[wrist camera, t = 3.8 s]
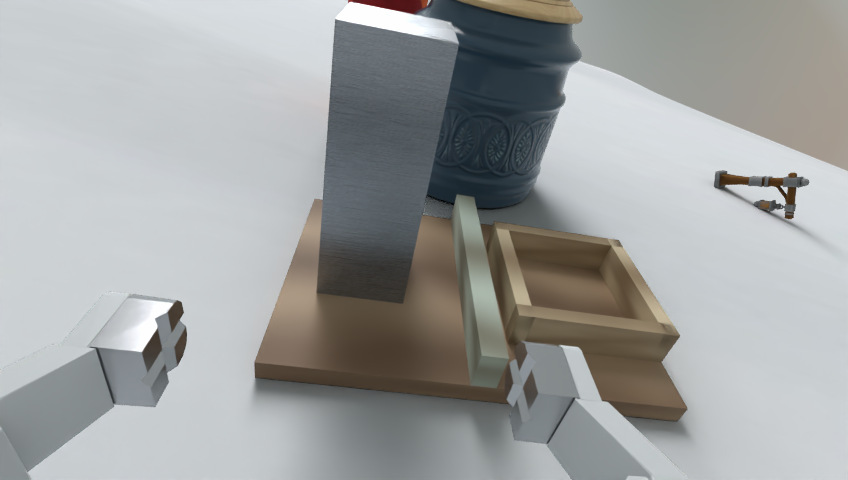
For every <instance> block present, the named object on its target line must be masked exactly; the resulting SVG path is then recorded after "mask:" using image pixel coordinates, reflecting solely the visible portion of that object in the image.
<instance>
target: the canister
mask: <svg viewBox="0 0 848 480" xmlns="http://www.w3.org/2000/svg"><path fill="white" fill-rule="evenodd" d="M413 15H418V16H423V17H428V18H433V19H438V20H443V21H448V22H451V23H452V26H453V29H454V31H455V34H456V37H457V39H458V42H459V46H458V51H457V55H456V60H455V65H454V69H453V74H452V79H451V83H450V88H449V93H448V97H447V102H446V107H445V111H444V116H443V121H442V125H441V130H440V135H439V139H438V144H437V148H436V153H435V158H434V162H433V167H432V172H431V176H430V181H429V186H428V190H427V194H428V195H430V196H432V197H435V198H437V199H440V200H443V201H447V202H450V203H454V204H455V200H456V196H457V195H464V196H470V197H474V199H475V204H476V207H477V208H499V207H506V206H510V205H514V204H516V203H519V202H521V201H522V200H523V199H525V198H526V197H527V195H528V193H529V191H530V189H531V188H532V187H533V186H534V184H535V183H536V180H537V176H538V175H539V173H540V168H541V167H540V164H541V160H542V158H543V155H544V152H545V149H546V147H547V144H548V141H549V138H550V135H551V133H552V130H553V127H554V124H555V122H556V119H557V116H558V113H559V110H560V108H561V107H562V106H563V105H564V103H565V99H566V98H565V94H564V92H563V88H564V84H565V80H566V77H567V74H568V70H569V68H570V67H571V66H572V65H574V64H576V63H577V62H578V61H579V60H580V59H581V57H582V53H581V51H580V49H579V48H578V46H577V45H576V44H575V43H574V41H573V39H572V24H578V23H580V22H581V21H582V18H583V17H582V15H581V14H580V13H579V11H578V10H577V9H576V8H575V7H574V6H573V4H572V3H571V1H570V0H431V1H430V3H429V5H428V6H426V7H424V8H422V9H420V10H418V11H416V12H415V13H414V14H413Z"/></svg>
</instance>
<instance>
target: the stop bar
mask: <svg viewBox="0 0 848 480" xmlns="http://www.w3.org/2000/svg"><path fill="white" fill-rule="evenodd" d="M458 46H459V42H458V39H457V37H456V34H455V31H454V29H453V26H452V23H451V22H448V21H443V20H438V19H433V18H428V17H423V16H418V15H413V14H409V13H404V12H399V11H394V10H389V9H384V8H379V7H374V6H369V5H364V4H359V3H354V2H349V4H348V5H347V6H346V7H345V8H344V9H343V11H342V12H341V13H340V14H339V15H338V16H337V18H336V19H335V30H334V44H333V59H332V73H331V88H330V102H329V117H328V131H327V146H326V160H325V175H324V189H323V204H322V219H321V233H320V248H319V262H318V277H317V291H316V293H321V294H328V295H336V296H344V297H352V298H360V299H368V300H376V301H384V302H392V303H399V304H403V302H404V297H405V293H406V288H407V283H408V279H409V274H410V269H411V265H412V260H413V255H414V251H415V246H416V241H417V237H418V232H419V228H420V223H421V218H422V214H423V209H424V204H425V200H426V195H427V190H428V186H429V181H430V176H431V172H432V167H433V162H434V158H435V153H436V148H437V144H438V139H439V135H440V130H441V125H442V121H443V116H444V111H445V107H446V102H447V97H448V93H449V88H450V83H451V79H452V74H453V69H454V65H455V60H456V55H457V51H458Z"/></svg>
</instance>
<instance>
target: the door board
mask: <svg viewBox="0 0 848 480" xmlns="http://www.w3.org/2000/svg"><path fill="white" fill-rule="evenodd" d="M322 204H323V200H320V199H314V202H313V205H312V208H311V210H310V213H309V216H308V218H307V221H306V224H305V227H304V229H303V232H302V235H301V237H300V240H299V243H298V246H297V248H296V251H295V254H294V256H293V259H292V262H291V265H290V267H289V270H288V273H287V275H286V278H285V281H284V284H283V286H282V289H281V292H280V294H279V297H278V300H277V303H276V305H275V308H274V311H273V313H272V316H271V319H270V322H269V324H268V327H267V330H266V332H265V335H264V338H263V341H262V343H261V346H260V349H259V351H258V354H257V357H256V360H255V378H265V379H275V380H284V381H294V382H303V383H313V384H323V385H332V386H342V387H352V388H361V389H371V390H381V391H390V392H400V393H409V394H419V395H429V396H438V397H448V398H458V399H467V400H477V401H487V402H496V403H506V404H510V403H509V402H508V401H507V400H506V395H505V385H504V382H505V374H506V370H507V367H508V365H509V363H510V362H511V361H513V360H515V359H516V356H515V349H516V346H517V344H518V343H519V342H520V341H527V342H536V343H546V344H555V345H564V346H573V347H579V348H580V349H581V351H582V353H583V355H584V358H585V360H586V363H587V365H588V368H589V370H590V373H591V375H592V378H593V380H594V382H595V385H596V387H597V390H598V392H599V395H600V397H601V400H602V401H604V402H608V403H609V404H610V405H612V406H613V407H614V408H615V409H616V410H617V411H618V412H619V413H620V414H621V415H622V416H631V417H641V418H650V419H660V420H670V421H678V420H679V419H680V417H681V416H682V415H683V414H684V413H685V411H686V410H687V407H686V405H685V403H684V402H683V400H682V398H681V396H680V395H679V393H678V391H677V389H676V387H675V386H674V384H673V382H672V380H671V379H670V377H669V375H668V373H667V371H666V370H665V368H664V366H663V364H662V363H661V362H662V361H663V359H664V358H665V356H666V355H667V354H668V352H669V351H670V349H671V348H672V347H673V345H674V344H675V342H676V341H677V340H678V338H679V337H680V335H679V333H678V332H677V330H676V328H675V327H674V325H673V324H672V322H671V321H670V319H669V318H668V316H667V315H666V313H665V311H664V310H663V308H662V307H661V305H660V304H659V302H658V301H657V299H656V298H655V296H654V294H653V293H652V291H651V290H650V288H649V287H648V285H647V284H646V282H645V280H644V279H643V277H642V276H641V274H640V273H639V271H638V270H637V268H636V267H635V265H634V263H633V262H632V260H631V259H630V257H629V256H628V254H627V253H626V251H625V250H624V248H623V246H622V245H621V243H620V242H619V240H613V239H607V238H600V237H594V236H587V235H581V234H574V233H567V232H561V231H554V230H548V229H541V228H534V227H528V226H521V225H515V224H508V223H502V222H495V221H494V224H493V226H492V225H486V224H480V222H479V217H478V213H477V208H476V204H475V199H474V197H470V196H464V195H457V196H456V200H455V204H454V208H453V211H452V215H451V219H446V218H439V217H433V216H426V215H422V218H421V223H420V228H419V232H418V237H417V241H416V246H415V251H414V255H413V260H412V265H411V269H410V274H409V279H408V283H407V288H406V293H405V297H404V302H403V304H399V303H392V302H384V301H376V300H368V299H360V298H352V297H344V296H336V295H328V294H321V293H316V291H317V277H318V262H319V248H320V233H321V219H322Z"/></svg>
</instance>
